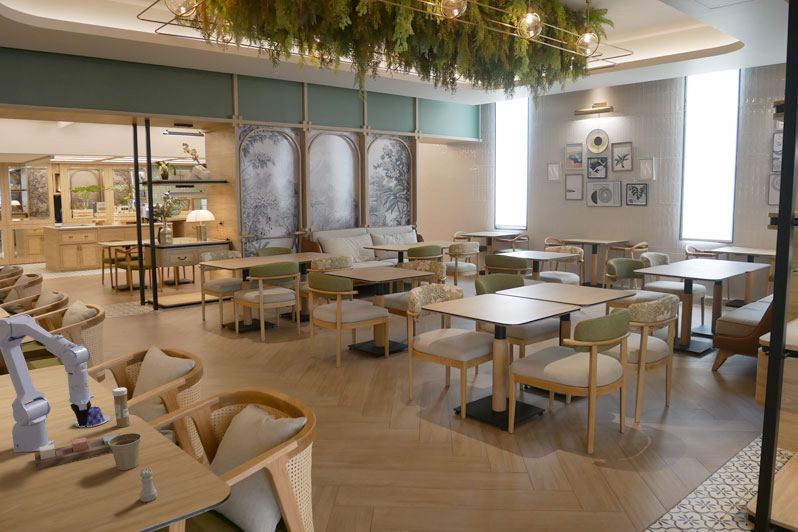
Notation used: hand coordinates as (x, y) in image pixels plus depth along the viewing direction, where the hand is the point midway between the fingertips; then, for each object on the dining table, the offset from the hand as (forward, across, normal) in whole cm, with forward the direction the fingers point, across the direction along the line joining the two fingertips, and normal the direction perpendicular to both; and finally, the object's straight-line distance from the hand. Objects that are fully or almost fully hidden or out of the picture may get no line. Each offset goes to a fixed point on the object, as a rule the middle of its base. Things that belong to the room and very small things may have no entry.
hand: (82, 425), depth 198 cm
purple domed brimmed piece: (+10, +29, -5) cm, 31 cm away
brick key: (+8, 0, +2) cm, 8 cm away
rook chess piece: (+9, -44, -11) cm, 46 cm away
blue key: (+9, 0, -7) cm, 12 cm away
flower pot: (+9, -19, -10) cm, 23 cm away
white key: (+8, 0, +11) cm, 13 cm away
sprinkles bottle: (+10, +18, -14) cm, 25 cm away
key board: (+9, 0, +2) cm, 9 cm away
